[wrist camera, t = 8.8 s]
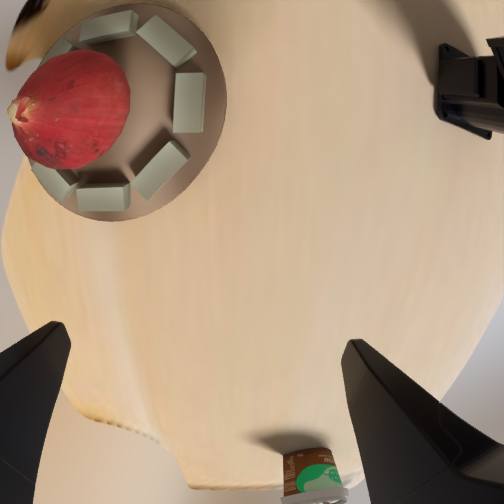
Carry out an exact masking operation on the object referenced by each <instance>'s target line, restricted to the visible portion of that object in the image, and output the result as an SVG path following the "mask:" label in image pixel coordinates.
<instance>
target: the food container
mask: <svg viewBox="0 0 504 504" xmlns="http://www.w3.org/2000/svg"><path fill="white" fill-rule="evenodd" d="M283 475H284V497H282V498H281V501H282V504H345V503H346V502H347V498H348V489H347V488H343V486H342V483H341V480H340V477H339V474H338V470H337V467H336V464H335V461H334V458H333V455H332V452H331V450H329V449H326V448H311V449H304V450H299V451H295V452H291V453H288V454H286V455H283Z"/></svg>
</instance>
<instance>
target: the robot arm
mask: <svg viewBox="0 0 504 504" xmlns="http://www.w3.org/2000/svg"><path fill="white" fill-rule="evenodd" d="M486 41H487V43H488V45H489V47H491V50H492V52H493V56H479V57H475V56H473V57H470V56H468V55H466V54H465V53H463V52H461V51H459V50H458V49H456V48H454V47H452V46H450V45H448V44H446V43H443V44H440V46H439V94H438V109H437V115H438V118H439V119H440V120H442V121H444V122H447V123H449V124H452V125H454V126H457V127H459V128H462V129H464V130H466V131H468V132H471V133H473V134H475V135H477V136H479V137H482V138H484V139H487V140H490V139H491V137H492V131H494V132H498V133H503V134H504V36H502V37H496V38H489V39H486ZM445 48H446V50H445ZM443 112H444V116H443ZM70 349H71V341H70V338H69V335H68V333H67V330H66V328H65V325H64V324H63V323H62V322H58V321H51V322H49V323H47V324H46V325H44V326H43V327H41V328H39V329H38V330H36V331H34V332H33V333H31V334H30V335H28V336H26V337H25V338H23V339H21V340H20V341H18V342H17V343H16V344H14V345H12V346H11V347H9V348H7V349H6V350H4V351H3V352H1V353H0V504H33V497H34V491H35V483H36V479H37V473H38V468H39V463H40V458H41V454H42V450H43V446H44V441H45V438H46V434H47V430H48V426H49V423H50V419H51V416H52V412H53V409H54V406H55V403H56V400H57V397H58V393H59V390H60V387H61V384H62V380H63V376H64V372H65V368H66V364H67V360H68V356H69V352H70ZM341 366H342V372H343V378H344V385H345V391H346V398H347V404H348V409H349V413H350V417H351V420H352V424H353V428H354V432H355V436H356V440H357V444H358V448H359V452H360V456H361V461H362V465H363V469H364V474H365V478H366V482H367V487H368V491H369V496H370V501H371V504H504V445H503V444H500V443H498V442H496V441H495V440H493V439H491V438H490V437H488V436H487V435H485V434H484V433H482V432H481V431H479V430H478V429H476V428H474V427H473V426H471V425H470V424H468V423H467V422H466V421H464V420H463V419H461V418H460V417H458V416H457V415H456V414H454V413H453V412H452V411H451V410H449V409H448V408H447V407H446V406H444V405H443V404H442V403H439V401H438V400H437V399H436V398H434V397H433V396H432V395H431V394H430V393H428V392H427V391H426V390H425V389H423V388H422V387H421V386H420V385H418V384H417V383H416V382H415V381H413V380H412V379H411V378H410V377H409V376H407V375H406V374H405V373H404V372H402V371H401V370H400V369H399V368H397V367H396V366H395V365H394V364H393V363H391V362H390V361H389V360H388V359H386V358H385V357H384V356H383V355H381V354H380V353H379V352H378V351H376V350H375V349H374V348H373V347H372V346H370V345H369V344H368V343H367V342H365V341H364V340H363V339H351V340H349V341H348V343H347V345H346V348H345V350H344V353H343V356H342V359H341Z"/></svg>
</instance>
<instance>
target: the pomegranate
mask: <svg viewBox="0 0 504 504" xmlns="http://www.w3.org/2000/svg"><path fill="white" fill-rule="evenodd" d="M130 94H131V89H130V87H129V84H128V81H127V78H126V75H125V72H124V70H123V69H122V68H121V67H120V66H119V65H118V64H117V63H116V62H115V61H114V60H113V59H112V58H111V57H109V56H108V55H106V54H104V53H100V52H95V51H91V50H74V51H71V52H67V53H64V54H61V55H58V56H55V57H52V58H51V59H49V60H48V61H46V62H45V63H44V64H43V65H41V66H40V67H39V68H38V69H37V70H36V71H34V72H33V73H32V74H31V76H30V77H29V78H28V80H27V81H26V82H25V84H24V85H23V87H22V88H21V90H20V91H19V93H18V96H17V98H16V99H14V100H13V101H12V103H11V105H10V106H9V107H8V109H7V110H8V114H9V116H10V119H11V121H12V126H13V131H14V136H15V138H16V140H17V142H18V143H19V145H20V147H21V149H22V150H23V152H24V153H25V155H26V156H27V157H28V158H30V159H31V160H33V161H35V162H37V163H39V164H41V165H43V166H45V167H47V168H51V169H75V168H81V167H84V166H85V165H87V164H89V163H90V162H92V161H94V160H96V159H97V158H99V157H101V156H103V155H104V154H105V153H106V152H107V151H109V149H110V148H111V146H112V145H113V144H114V142H115V141H116V140H117V138H118V137H119V135H120V134H121V133H122V131H123V128H124V125H125V123H126V120H127V117H128V115H129V112H130Z"/></svg>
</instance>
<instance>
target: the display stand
mask: <svg viewBox="0 0 504 504" xmlns="http://www.w3.org/2000/svg"><path fill="white" fill-rule="evenodd" d="M74 50H91V51H95V52H100V53H104V54H106V55H108V56H109V57H111V58H112V59H113V60H114V61H115V62H116V63H117V64H118V65H119V66H120V67H121V68H122V69H123V70H124V72H125V75H126V78H127V81H128V84H129V87H130V89H131V94H130V112H129V115H128V117H127V120H126V123H125V125H124V128H123V131H122V133H121V134H120V135H119V137H118V138H117V140H116V141H115V142H114V144H113V145H112V146H111V148H110V149H109V151H107V152H106V153H105V154H104V155H103V156H101V157H99V158H97V159H96V160H94V161H92V162H90V163H89V164H87V165H85V166H84V167H81V168H75V169H51V168H47V167H45V166H43V165H41V164H39V163H37V162H35V161H33V160H31V159H30V158H28V159H29V162H30V165H31V167H32V169H31V171H32V172H33V173H34V174H35V175H36V177H37V179H38V181H39V182H40V184H41V185H42V186H43V188H44V189H45V190H46V192H47V193H48V194H49V195H50V196H51V197H52V198H53V199H54V200H55V201H56V202H58V203H59V204H60V205H62V206H63V207H64V208H66V209H68V210H70V211H71V212H73V213H75V214H77V215H80V216H83V217H85V218H89V219H93V220H98V221H109V222H113V221H125V220H130V219H135V218H138V217H141V216H144V215H147V214H150V213H152V212H154V211H156V210H158V209H160V208H162V207H163V206H165V205H166V204H168V203H169V202H171V201H172V200H174V199H175V198H176V197H177V196H178V195H179V194H181V193H182V192H183V191H184V190H185V189H186V188H187V187H188V186H189V185H190V184H191V183H192V181H193V180H194V179H195V178H196V177H197V175H198V174H199V173H200V171H201V170H202V169H203V167H204V166H205V164H206V163H207V162H208V160H209V159H210V157H211V155H212V153H213V151H214V149H215V148H216V145H217V143H218V140H219V138H220V135H221V132H222V128H223V125H224V121H225V114H226V107H227V91H226V84H225V78H224V74H223V71H222V68H221V64H220V62H219V59H218V57H217V55H216V52H215V50H214V48H213V46H212V44H211V43H210V42H209V40H208V39H207V37H206V36H205V35H204V33H203V32H202V31H201V30H200V29H199V28H198V27H197V26H196V25H195V24H194V23H192V22H191V21H190V20H188V19H187V18H185V17H184V16H183V15H181V14H178V13H176V12H174V11H172V10H170V9H167V8H164V7H160V6H156V5H149V4H127V5H120V6H115V7H112V8H108V9H105V10H102V11H100V12H97V13H95V14H93V15H91V16H89V17H87V18H85V19H84V20H82V21H80V22H79V23H77V24H76V25H75V26H73V27H72V28H71V29H69V30H68V31H67V32H66V33H65V34H64V35H63V36H61V37H60V38H59V39H58V40H57V42H56V43H55V44H54V45H53V46H52V47H51V49H50V50H49V51H48V52H47V54H46V55H45V57H44V58H43V60H42V61H41V63H40V65H39V67H40V66H41V65H43V64H44V63H45V62H46V61H48V60H49V59H51V58H52V57H55V56H58V55H61V54H64V53H67V52H71V51H74ZM39 67H38V68H39ZM38 68H37V69H38Z"/></svg>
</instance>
